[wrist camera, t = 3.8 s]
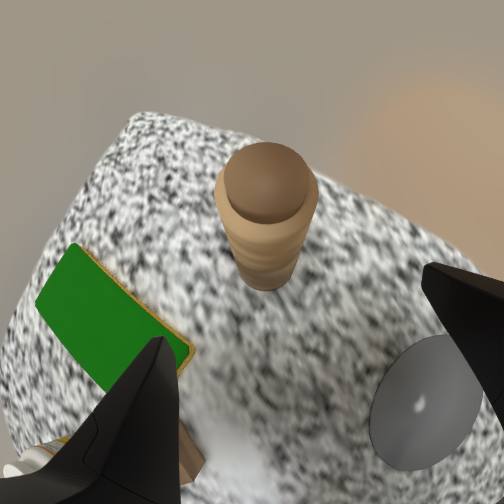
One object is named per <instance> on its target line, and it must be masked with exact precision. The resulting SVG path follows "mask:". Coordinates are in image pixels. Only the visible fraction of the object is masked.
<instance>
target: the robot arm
mask: <svg viewBox="0 0 504 504" xmlns="http://www.w3.org/2000/svg"><path fill="white" fill-rule="evenodd" d="M421 287H422V290H423V292H424V294H425V296H426V297H427V299H428V301H429V302H430V304H431V306H432V307H433V309H434V311H435V313H436V314H437V316H438V318H439V320H440V321H441V323H442V324H443V326H444V327H445V329H446V330H447V332H448V333H449V335H450V336H451V338H452V339H453V341H454V342H455V344H456V345H457V347H458V348H459V350H460V352H461V353H462V355H463V356H464V358H465V360H466V361H467V363H468V364H469V366H470V368H471V369H472V371H473V373H474V374H475V376H476V378H477V380H478V381H479V383H480V385H481V387H482V388H483V390H484V392H485V394H486V396H487V398H488V400H489V401H490V403H491V405H492V408H493V409H494V411H495V413H496V415H497V418H498V420H499V422H500V424H501V426H502V428H503V430H504V282H503V281H499V280H496V279H493V278H490V277H486V276H483V275H479V274H476V273H472V272H469V271H465V270H462V269H458V268H455V267H451V266H448V265H444V264H440V263H437V262H431V263H429V264H426V265H425V266H424V268H423V275H422V282H421ZM0 504H181V496H180V471H179V391H178V380H177V368H176V357H175V354H174V352H173V350H172V348H171V346H170V344H169V342H168V340H167V339H166V337H165V336H163V335H162V336H156V337H152V338H151V339H150V340H149V341H148V343H147V344H146V345H145V346H144V348H143V349H142V350H141V351H140V352H139V354H138V355H137V356H136V357H135V359H134V360H133V361H132V362H131V364H130V365H129V366H128V367H127V368H126V370H125V371H124V372H123V373H122V375H121V376H120V377H119V378H118V380H117V381H116V382H115V383H114V385H113V386H112V387H111V388H110V390H109V391H108V392H107V393H106V395H105V396H104V397H103V399H102V400H101V401H100V402H99V404H98V405H97V406H96V407H95V409H94V410H93V412H91V414H90V415H89V416H88V418H87V419H86V420H85V421H84V423H83V424H82V425H81V426H80V427H79V429H78V430H77V431H76V432H75V433H74V434H73V436H72V437H71V438H70V439H69V440H68V441H67V442H66V443H65V444H64V445H63V447H62V448H61V449H60V450H59V451H58V452H57V453H56V454H55V455H54V456H53V457H52V458H51V459H50V460H49V462H48V463H47V464H46V465H45V466H43V467H42V468H41V469H39V470H37V471H36V472H33V473H30V474H25V475H20V476H14V477H8V478H0ZM496 504H504V497H503V498H502V499H501V500H499V501H498V502H497V503H496Z"/></svg>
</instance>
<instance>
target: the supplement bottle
mask: <svg viewBox="0 0 504 504" xmlns="http://www.w3.org/2000/svg"><path fill="white" fill-rule="evenodd" d="M72 436H73V434H72V435H69V436H66V437H63V438H60V439H57V440H54V441H51V442H48V443H44V444H41V445H37V446H33V447H31V448H28V449H26V450H25V451H24V452H23V453H22V455H21V458H20V461H15V462H12V463H9V464H6V465H5V466H4V477H5V478H8V477H14V476H20V475H25V474H30V473H33V472H36V471H37V470H39V469H41V468H42V467H43V466H45V465H46V464H47V463H48V462H49V460H50V459H51V458H52V457H53V456H54V455H55V454H56V453H57V452H58V451H59V450H60V449H61V448H62V447H63V445H64V444H65V443H66V442H67V441H68V440H69V439H70V438H71V437H72Z"/></svg>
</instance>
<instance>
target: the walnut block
mask: <svg viewBox="0 0 504 504" xmlns="http://www.w3.org/2000/svg"><path fill="white" fill-rule="evenodd" d="M205 461H206V460H205V459H204V458H203V456H202V455H201V453H200V451H199V450H198V448H197V447H196V445H195V444H194V442H193V441H192V439H191V437H190V436H189V434H188V432H187V431H186V429H185V428H184V426H183V424H182V422H181V421H180V419H179V471H180V485H184V484H187V483H191V482H194V480H195V478H196V476H197V475H198V473H199V471H200V469H201V468H202V466H203V464H204V462H205Z"/></svg>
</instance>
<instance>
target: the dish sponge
mask: <svg viewBox="0 0 504 504" xmlns="http://www.w3.org/2000/svg"><path fill="white" fill-rule="evenodd" d="M35 307H36V308H37V310H38V311H39V313H40V314H41V316H42V317H43V318H44V320H45V321H46V323H47V324H48V325H49V327H50V328H51V329H52V331H53V332H54V334H55V335H56V336H57V337H58V339H59V340H60V341H61V343H62V344H63V345H64V346H65V348H66V349H67V350H68V351H69V353H70V354H71V355H72V356H73V357H74V359H75V360H76V361H77V362H78V363H79V364H80V366H81V367H82V368H83V369H84V370H85V371H86V372H87V373H88V374H89V376H90V377H91V378H92V379H93V380H94V381H95V382H96V383H97V384H98V385H99V386H100V387H101V388H102V389H103V390H104V391H105V392H106V393H107V392H108V391H109V390H110V388H111V387H112V386H113V385H114V383H115V382H116V381H117V380H118V378H119V377H120V376H121V375H122V373H123V372H124V371H125V370H126V368H127V367H128V366H129V365H130V364H131V362H132V361H133V360H134V359H135V357H136V356H137V355H138V354H139V352H140V351H141V350H142V349H143V348H144V346H145V345H146V344H147V343H148V341H149V340H150V339H151V338H152V337H156V336H162V335H163V336H165V337H166V339H167V340H168V342H169V344H170V346H171V348H172V350H173V352H174V354H175V357H176V368H177V376H178V375H179V374H180V372H181V371H182V370H183V368H184V367H185V366H186V364H187V363H188V361H189V360H190V359H191V357H192V356H193V355H194V353H195V348H194V345H192V344H191V343H190V342H188V341H187V340H186V339H185V338H183V337H182V336H181V335H180V334H178V333H177V332H176V331H175V330H173V329H172V328H171V327H170V326H168V325H167V324H166V323H165V322H164V321H162V320H161V319H160V318H159V317H158V316H156V315H155V314H154V313H153V312H152V311H151V310H149V309H148V308H147V307H146V306H145V305H144V304H143V303H141V302H140V301H139V300H138V299H137V298H136V297H135V296H134V295H132V294H131V293H130V292H129V291H128V290H127V289H126V288H125V287H124V286H123V285H122V284H120V283H119V282H118V281H117V280H116V279H115V278H114V277H113V276H112V275H111V274H110V273H109V272H108V271H107V270H106V269H105V268H104V267H103V266H102V265H101V264H100V263H99V262H98V261H97V260H96V259H95V258H94V257H93V256H92V255H91V254H90V253H89V252H88V251H87V250H86V249H84V248H82V247H81V246H79V245H78V244H76V243H73V244H71V245H70V246H69V248H68V249H67V251H66V252H65V254H64V255H63V257H62V258H61V260H60V261H59V263H58V264H57V266H56V267H55V269H54V271H53V272H52V274H51V275H50V277H49V279H48V280H47V282H46V284H45V285H44V287H43V289H42V290H41V292H40V294H39V296H38V297H37V299H36V301H35Z"/></svg>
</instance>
